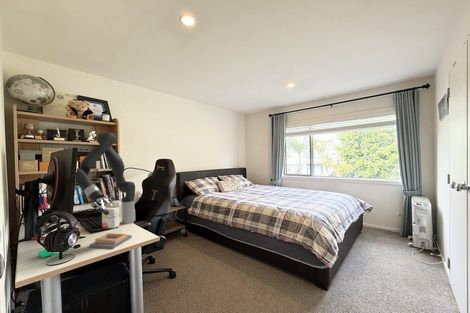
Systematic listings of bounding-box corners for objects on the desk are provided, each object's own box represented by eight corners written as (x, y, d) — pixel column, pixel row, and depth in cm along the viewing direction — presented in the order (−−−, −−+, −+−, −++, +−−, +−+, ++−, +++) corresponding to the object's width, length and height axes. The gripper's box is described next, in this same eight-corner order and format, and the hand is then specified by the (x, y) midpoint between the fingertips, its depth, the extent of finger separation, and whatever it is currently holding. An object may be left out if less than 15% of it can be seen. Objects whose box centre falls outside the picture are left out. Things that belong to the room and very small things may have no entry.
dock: (110, 236, 137) (110, 231, 137) (131, 237, 134) (131, 232, 134) (89, 247, 121) (89, 241, 121) (113, 248, 118) (113, 242, 118)
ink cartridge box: (101, 227, 125) (101, 204, 125) (107, 225, 130) (107, 202, 130) (114, 228, 124) (114, 204, 124) (119, 225, 129) (119, 202, 129)
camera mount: (64, 247, 122) (63, 230, 122) (70, 250, 118) (69, 232, 118) (37, 256, 112) (36, 237, 112) (42, 259, 108) (42, 240, 108)
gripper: (87, 191, 122) (105, 212, 120) (106, 187, 136) (123, 205, 134) (80, 200, 123) (98, 220, 121) (100, 195, 137) (116, 213, 135)
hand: (111, 212), depth 127 cm, fingers closed on ink cartridge box, 5 cm apart
